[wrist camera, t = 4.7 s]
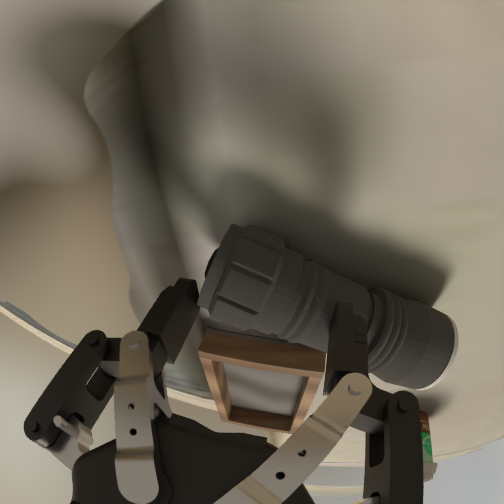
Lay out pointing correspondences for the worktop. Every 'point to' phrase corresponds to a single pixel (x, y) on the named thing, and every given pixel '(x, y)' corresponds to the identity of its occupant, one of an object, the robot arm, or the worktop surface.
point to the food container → (427, 448)
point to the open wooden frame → (261, 379)
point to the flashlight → (323, 308)
